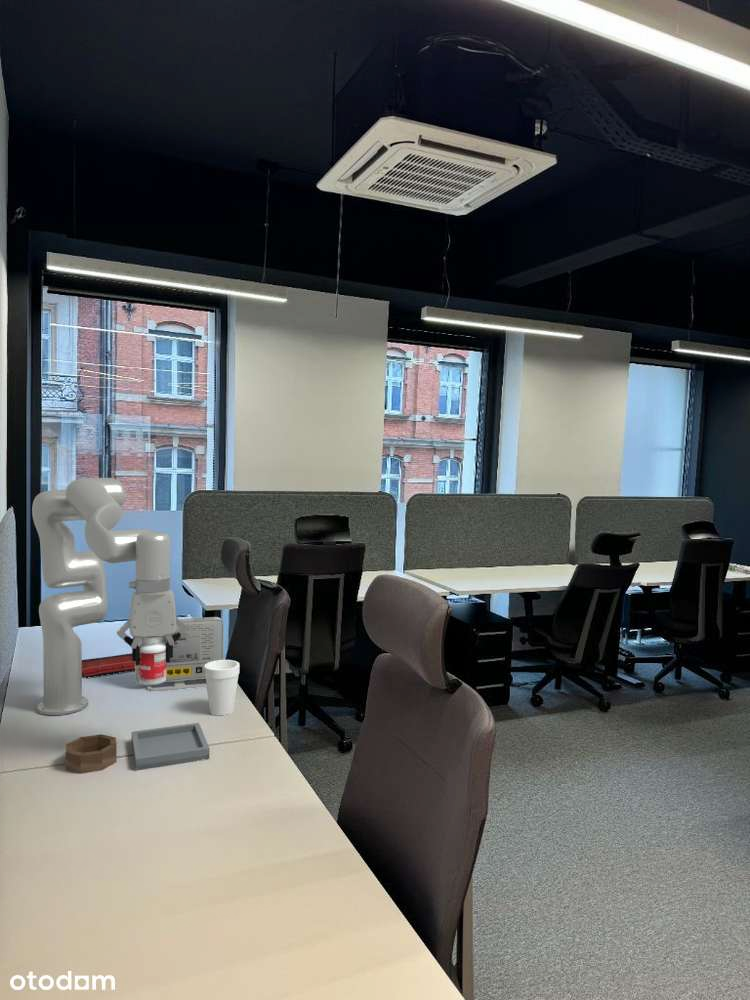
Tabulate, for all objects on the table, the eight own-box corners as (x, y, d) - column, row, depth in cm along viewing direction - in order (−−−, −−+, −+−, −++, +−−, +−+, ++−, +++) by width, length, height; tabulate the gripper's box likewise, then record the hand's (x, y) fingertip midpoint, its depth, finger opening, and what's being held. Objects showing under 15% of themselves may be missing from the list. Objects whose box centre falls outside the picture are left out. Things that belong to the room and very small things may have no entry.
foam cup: (230, 719, 175) (230, 671, 174) (198, 716, 177) (198, 668, 176) (244, 706, 184) (244, 661, 183) (213, 703, 186) (213, 658, 185)
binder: (74, 659, 217) (140, 651, 229) (74, 666, 218) (140, 657, 229) (83, 675, 204) (152, 665, 215) (83, 682, 204) (152, 672, 216)
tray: (131, 741, 160) (131, 731, 160) (198, 732, 166) (198, 722, 166) (135, 770, 145) (135, 759, 145) (209, 758, 152) (209, 748, 151)
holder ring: (66, 755, 152) (66, 738, 151) (115, 748, 156) (115, 732, 155) (65, 775, 142) (65, 757, 142) (117, 767, 146) (117, 750, 146)
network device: (220, 677, 209) (221, 615, 208) (223, 686, 201) (224, 621, 200) (135, 683, 201) (135, 619, 200) (134, 693, 193) (134, 626, 192)
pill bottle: (133, 681, 153) (133, 634, 152) (157, 675, 157) (157, 629, 157) (147, 687, 149) (147, 639, 148) (171, 681, 153) (171, 634, 153)
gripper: (112, 591, 145) (112, 671, 146) (193, 587, 152) (192, 663, 153) (112, 585, 152) (112, 661, 153) (189, 581, 159) (189, 654, 160)
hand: (152, 661), depth 153 cm, fingers closed on pill bottle, 6 cm apart
